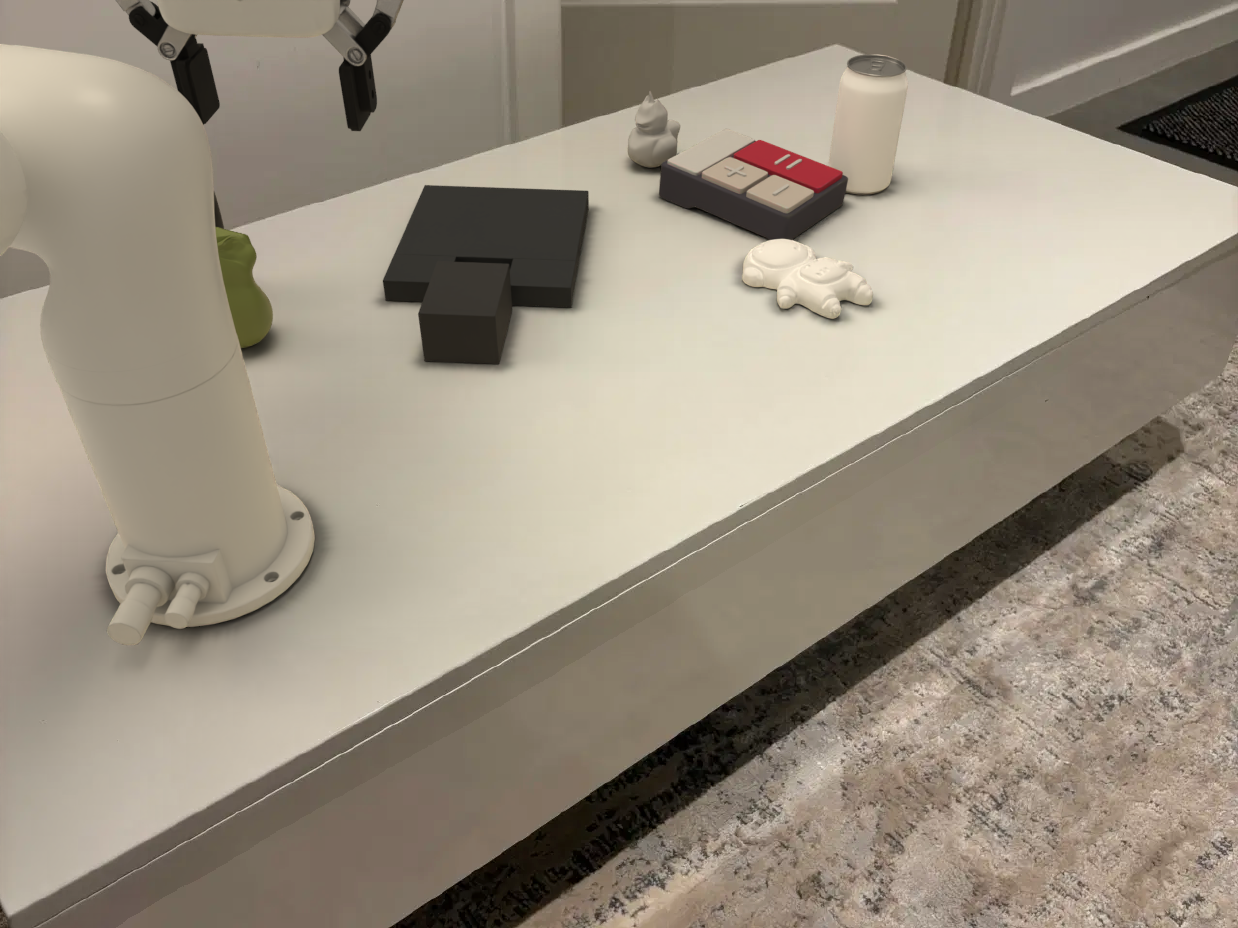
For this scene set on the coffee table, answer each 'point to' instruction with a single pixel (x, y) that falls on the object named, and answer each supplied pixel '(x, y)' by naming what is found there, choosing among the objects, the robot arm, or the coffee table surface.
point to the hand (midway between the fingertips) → (283, 120)
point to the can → (868, 121)
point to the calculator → (753, 184)
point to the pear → (243, 287)
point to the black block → (466, 312)
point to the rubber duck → (653, 134)
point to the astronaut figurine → (804, 277)
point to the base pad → (494, 240)
